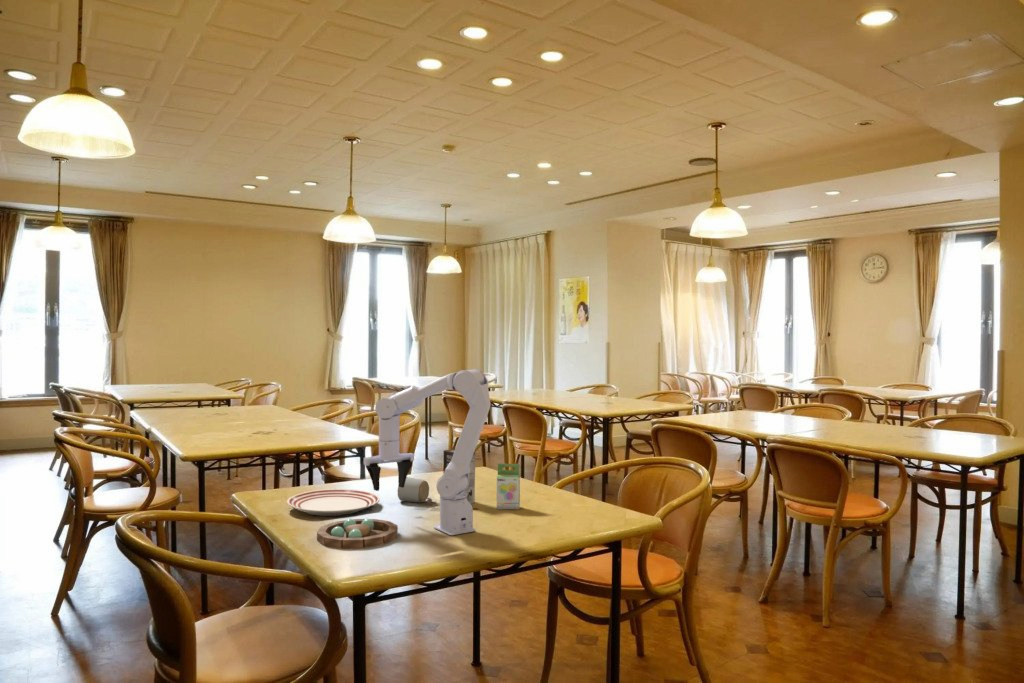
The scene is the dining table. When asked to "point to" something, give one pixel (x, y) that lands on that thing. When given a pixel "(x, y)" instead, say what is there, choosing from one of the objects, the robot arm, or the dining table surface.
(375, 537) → the ring tray
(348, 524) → the bead
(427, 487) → the ceramic mug
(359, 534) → the seated bead
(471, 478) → the coffee box
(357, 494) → the dinner plate
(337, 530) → the seated bead
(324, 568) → the dining table surface
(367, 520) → the bead
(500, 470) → the ink box
